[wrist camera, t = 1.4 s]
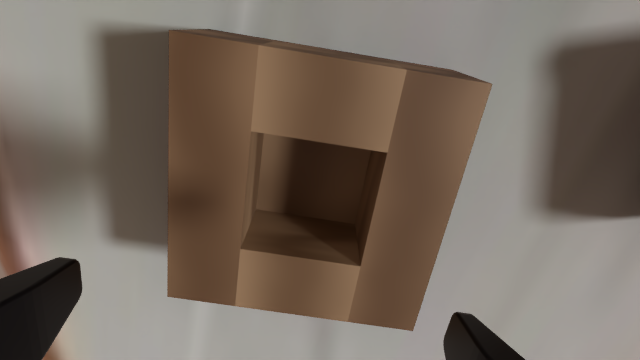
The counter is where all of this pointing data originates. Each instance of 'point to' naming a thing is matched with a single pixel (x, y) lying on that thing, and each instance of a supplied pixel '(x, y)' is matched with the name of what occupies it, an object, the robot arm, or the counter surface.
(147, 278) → the counter surface
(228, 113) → the socket block
